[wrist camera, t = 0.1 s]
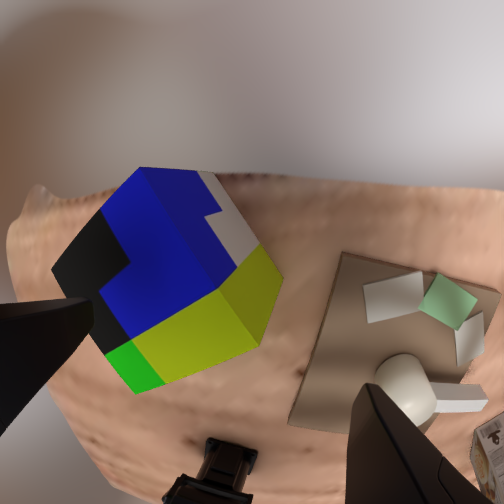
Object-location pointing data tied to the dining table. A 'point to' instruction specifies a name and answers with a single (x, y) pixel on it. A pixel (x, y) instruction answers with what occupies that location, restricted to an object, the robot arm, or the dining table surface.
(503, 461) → the coffee box
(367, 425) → the robot arm
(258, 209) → the dining table surface
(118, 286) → the puzzle toy
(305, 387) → the board
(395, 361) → the lever
